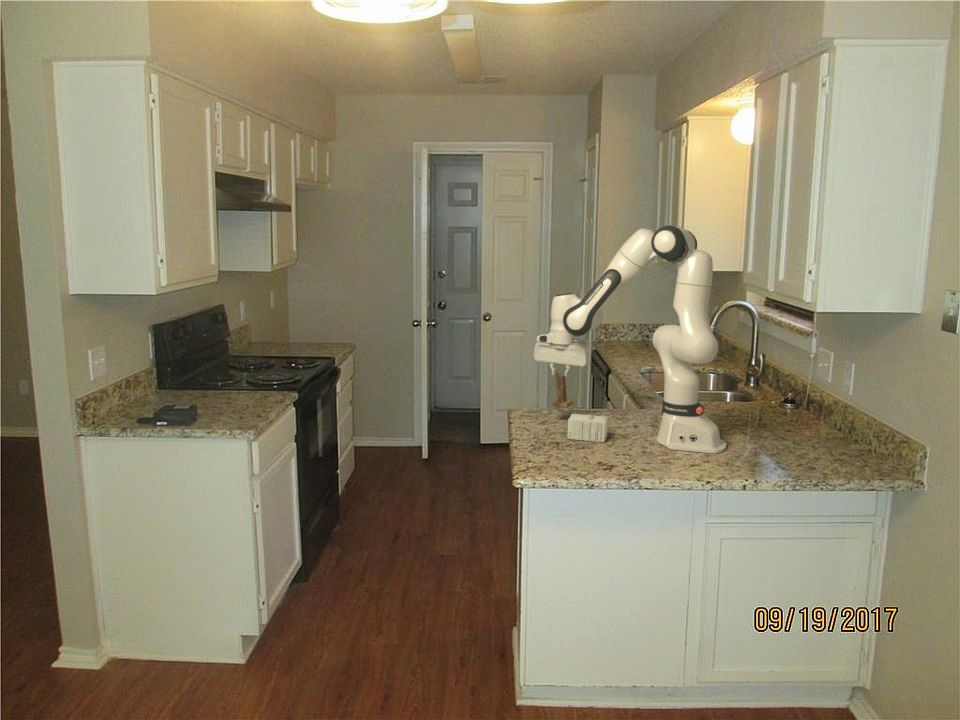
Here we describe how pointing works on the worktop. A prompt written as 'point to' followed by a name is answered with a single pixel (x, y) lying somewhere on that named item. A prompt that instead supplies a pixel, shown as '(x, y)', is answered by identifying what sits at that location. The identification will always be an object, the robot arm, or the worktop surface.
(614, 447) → the worktop surface
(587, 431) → the supplement box
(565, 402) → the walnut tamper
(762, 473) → the worktop surface
